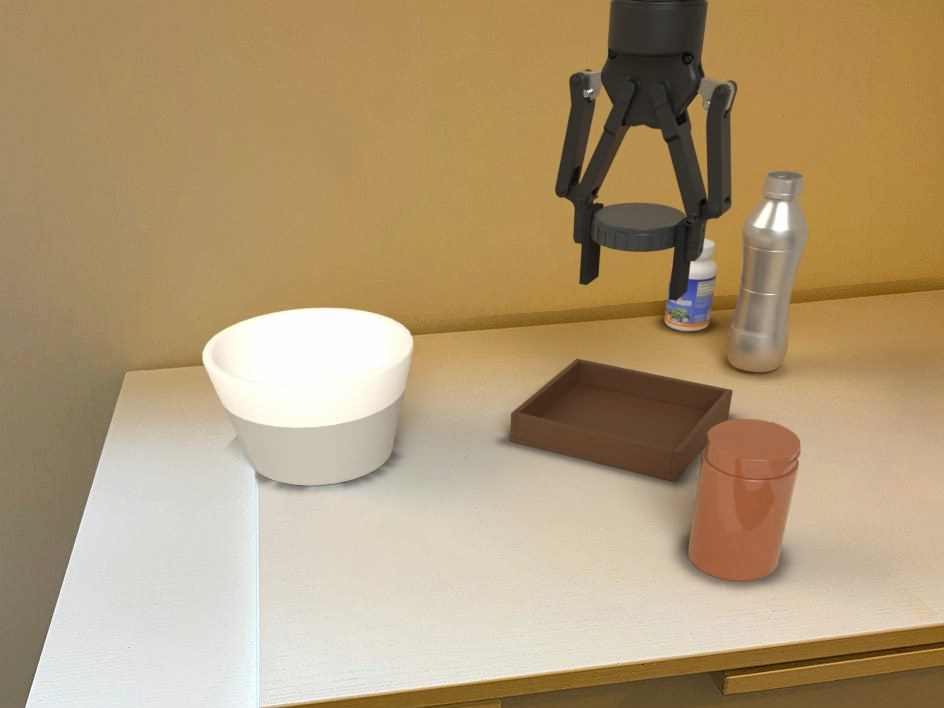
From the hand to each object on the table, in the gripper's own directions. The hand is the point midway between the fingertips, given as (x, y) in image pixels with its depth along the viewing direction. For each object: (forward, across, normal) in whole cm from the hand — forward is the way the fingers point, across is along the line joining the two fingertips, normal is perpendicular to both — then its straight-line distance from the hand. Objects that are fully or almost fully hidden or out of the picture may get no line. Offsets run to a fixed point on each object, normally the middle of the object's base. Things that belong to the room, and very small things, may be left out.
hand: (632, 287), depth 91 cm
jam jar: (+14, +17, -17) cm, 28 cm away
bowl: (+14, -24, -18) cm, 33 cm away
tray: (+14, 0, 0) cm, 14 cm away
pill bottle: (+14, -4, +30) cm, 33 cm away
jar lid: (-6, 0, 0) cm, 6 cm away
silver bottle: (+14, +7, +21) cm, 26 cm away
